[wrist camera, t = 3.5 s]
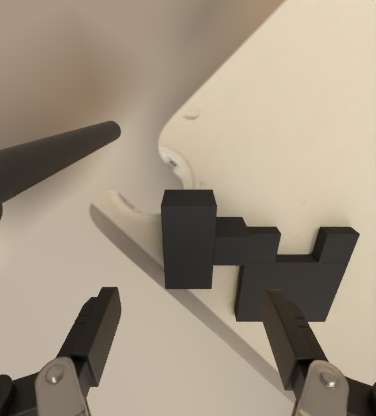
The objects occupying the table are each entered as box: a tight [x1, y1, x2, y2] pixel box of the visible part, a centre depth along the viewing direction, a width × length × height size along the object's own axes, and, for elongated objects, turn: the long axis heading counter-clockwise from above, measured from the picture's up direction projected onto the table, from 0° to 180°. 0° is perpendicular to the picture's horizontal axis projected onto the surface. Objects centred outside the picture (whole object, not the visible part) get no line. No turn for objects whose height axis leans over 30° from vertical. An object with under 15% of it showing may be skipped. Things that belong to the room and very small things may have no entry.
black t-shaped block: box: [161, 190, 251, 289], centre depth 24 cm, size 10×8×4 cm
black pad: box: [235, 227, 360, 322], centre depth 28 cm, size 12×14×2 cm
